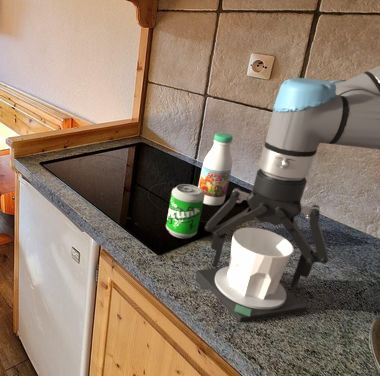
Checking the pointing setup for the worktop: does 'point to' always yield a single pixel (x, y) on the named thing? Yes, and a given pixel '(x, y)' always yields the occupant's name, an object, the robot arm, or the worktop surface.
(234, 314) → the scale
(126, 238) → the worktop surface
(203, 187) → the milk bottle
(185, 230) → the soda can
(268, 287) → the cup
